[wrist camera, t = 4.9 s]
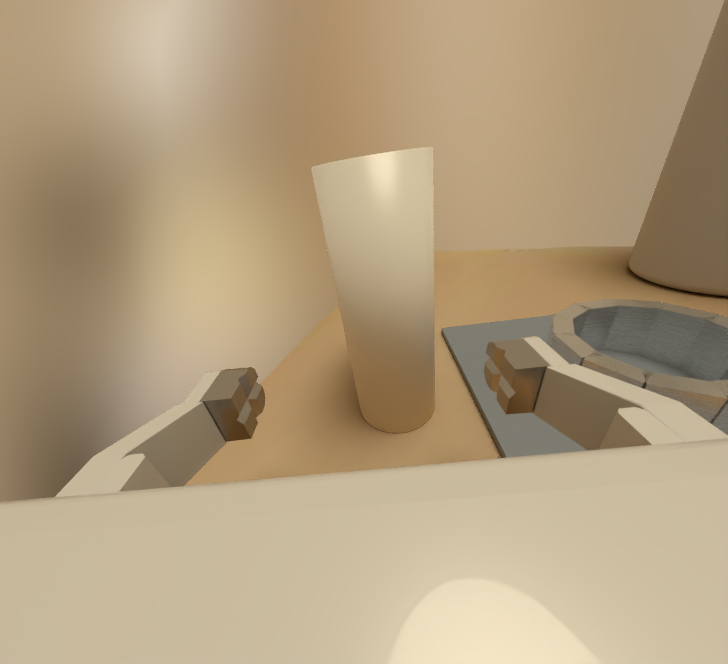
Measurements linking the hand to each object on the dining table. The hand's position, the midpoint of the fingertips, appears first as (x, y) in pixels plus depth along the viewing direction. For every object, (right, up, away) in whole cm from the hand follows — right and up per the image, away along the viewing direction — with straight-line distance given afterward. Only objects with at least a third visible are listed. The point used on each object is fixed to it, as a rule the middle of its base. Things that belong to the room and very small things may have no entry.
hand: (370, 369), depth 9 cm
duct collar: (+16, -2, +7) cm, 17 cm away
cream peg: (+2, -3, +10) cm, 11 cm away
